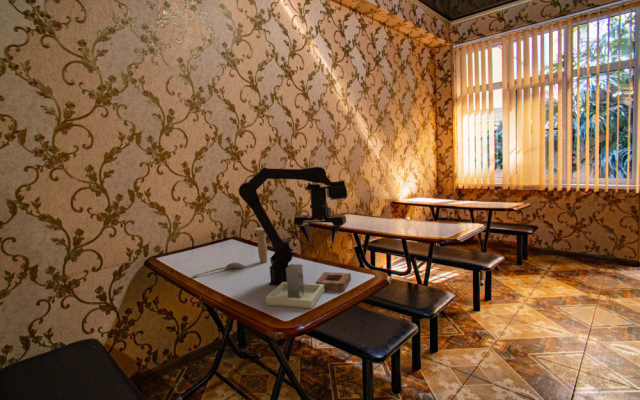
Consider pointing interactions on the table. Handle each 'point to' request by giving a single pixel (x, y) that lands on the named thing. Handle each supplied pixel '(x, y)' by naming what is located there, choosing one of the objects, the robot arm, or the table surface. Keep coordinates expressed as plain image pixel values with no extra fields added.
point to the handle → (261, 244)
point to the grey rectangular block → (295, 281)
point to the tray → (307, 301)
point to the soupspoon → (231, 265)
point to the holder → (334, 281)
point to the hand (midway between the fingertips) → (321, 242)
